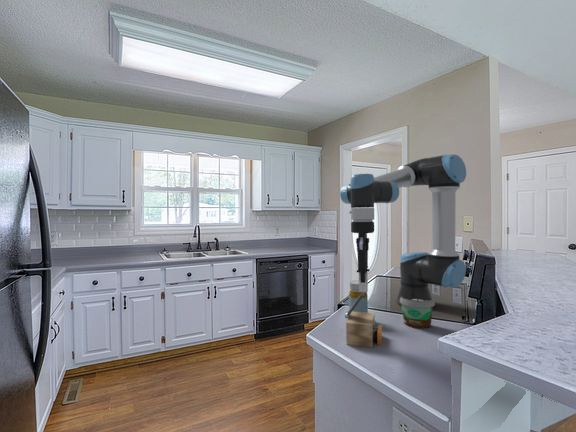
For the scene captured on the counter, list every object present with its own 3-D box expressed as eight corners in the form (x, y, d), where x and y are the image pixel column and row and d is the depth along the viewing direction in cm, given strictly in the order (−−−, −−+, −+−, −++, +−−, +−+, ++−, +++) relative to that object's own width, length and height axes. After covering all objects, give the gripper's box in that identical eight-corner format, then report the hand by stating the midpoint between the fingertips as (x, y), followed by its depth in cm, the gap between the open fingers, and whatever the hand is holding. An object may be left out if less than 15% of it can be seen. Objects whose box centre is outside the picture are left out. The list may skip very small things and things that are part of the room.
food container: (399, 327, 115) (399, 300, 115) (399, 321, 121) (399, 295, 121) (436, 331, 111) (436, 303, 111) (435, 325, 117) (434, 298, 117)
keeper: (365, 293, 108) (362, 291, 108) (363, 296, 103) (360, 294, 104) (349, 314, 110) (346, 312, 110) (347, 319, 105) (344, 316, 106)
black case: (382, 336, 108) (381, 325, 108) (381, 345, 101) (381, 332, 101) (348, 333, 111) (348, 322, 111) (346, 341, 104) (345, 329, 104)
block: (374, 333, 111) (374, 313, 111) (372, 347, 99) (371, 325, 99) (351, 330, 113) (351, 311, 113) (346, 344, 102) (346, 322, 102)
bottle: (368, 324, 119) (367, 284, 119) (349, 323, 121) (348, 284, 120) (367, 317, 126) (366, 280, 126) (349, 317, 127) (348, 280, 127)
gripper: (353, 220, 113) (354, 286, 113) (348, 221, 100) (349, 295, 101) (375, 220, 110) (376, 287, 111) (372, 221, 98) (373, 297, 98)
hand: (363, 291), depth 106 cm, fingers closed
